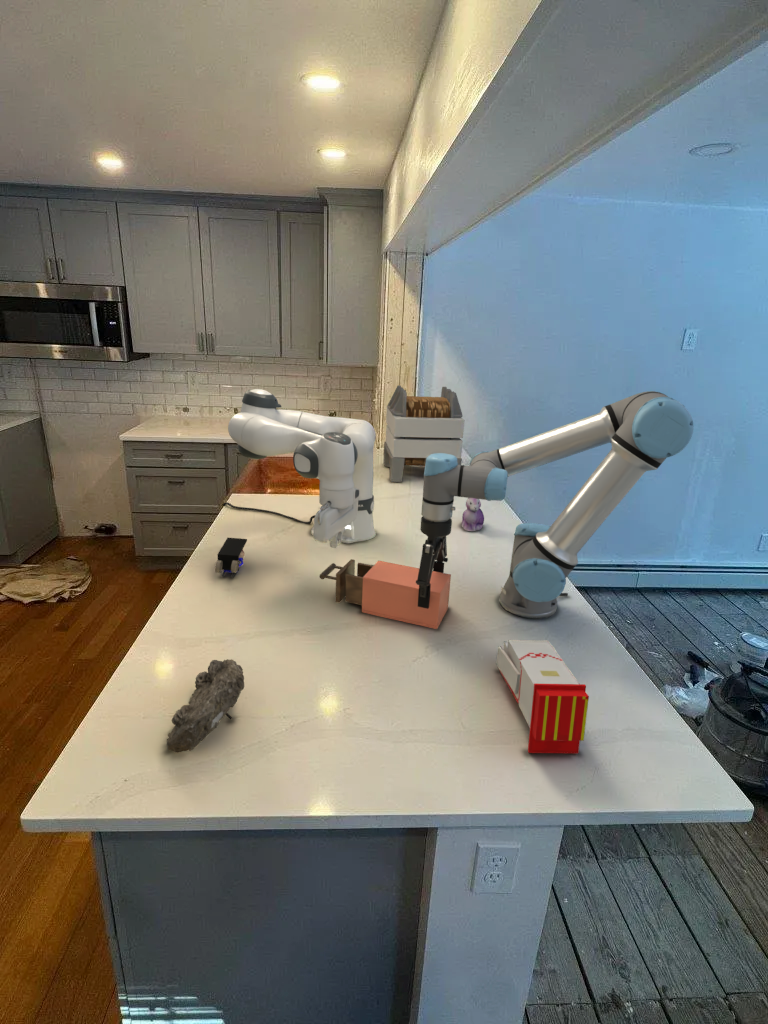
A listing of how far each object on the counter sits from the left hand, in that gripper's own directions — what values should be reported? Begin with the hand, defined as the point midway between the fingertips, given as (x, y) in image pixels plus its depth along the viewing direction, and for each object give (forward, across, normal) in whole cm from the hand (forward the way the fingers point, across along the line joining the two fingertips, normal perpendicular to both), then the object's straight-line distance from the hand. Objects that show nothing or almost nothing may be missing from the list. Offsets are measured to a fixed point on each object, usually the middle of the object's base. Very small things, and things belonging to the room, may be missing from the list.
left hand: (335, 545), depth 151 cm
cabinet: (+15, 0, -20) cm, 25 cm away
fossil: (+15, -54, +1) cm, 56 cm away
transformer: (+15, +129, +15) cm, 131 cm away
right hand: (+9, 0, -27) cm, 28 cm away
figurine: (+15, +68, -24) cm, 74 cm away
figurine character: (+15, +2, +34) cm, 37 cm away
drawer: (+14, 0, -9) cm, 17 cm away
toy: (+15, -26, -56) cm, 63 cm away
